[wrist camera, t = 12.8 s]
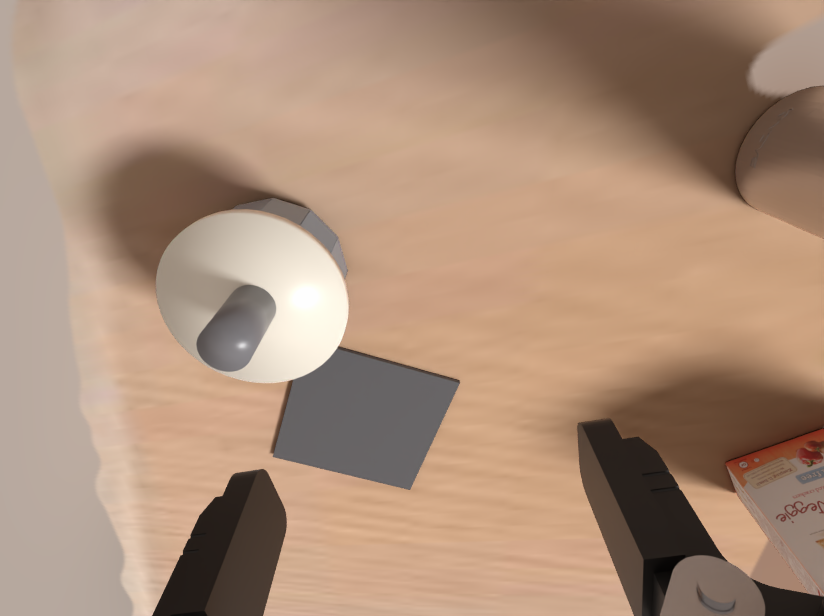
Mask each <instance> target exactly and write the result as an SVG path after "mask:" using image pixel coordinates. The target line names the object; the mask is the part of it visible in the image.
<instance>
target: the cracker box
mask: <svg viewBox="0 0 824 616" xmlns="http://www.w3.org/2000/svg"><path fill="white" fill-rule="evenodd" d="M726 466H727V469H728V472H729V474H730V477H731V480H732V482H733V485H734V488H735V490H736V493H737V496H738V497H739V499H740V500H741V501H742V503H743V504H744V506H745V507H746V508H747V510H748V511H749V513H750V514H751V515H752V517H753V518H754V519H755V521H756V522H757V524H758V525H759V526H760V528H761V529H762V531H763V532H764V533H765V535H766V536H767V537H768V539H769V540H770V542H771V543H772V544H773V546H774V547H775V548H776V550H777V551H778V552H779V554H780V555H781V556H782V558H783V559H784V561H785V562H786V563H787V565H788V566H789V567H790V569H791V570H792V572H793V573H794V574H795V575H796V577H797V578H798V580H799V581H800V582H801V584H802V585H803V586H804V588H805V589H806V591H807V592H808V593H809V594H812V595H818V596H823V597H824V428H823V429H820V430H817V431H815V432H812V433H809V434H806V435H803V436H800V437H797V438H795V439H792V440H789V441H786V442H783V443H780V444H777V445H774V446H772V447H769V448H766V449H763V450H760V451H757V452H754V453H751V454H749V455H746V456H743V457H740V458H737V459H734V460H731V461H728V462H726Z"/></svg>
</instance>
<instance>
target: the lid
mask: <svg viewBox="0 0 824 616" xmlns="http://www.w3.org/2000/svg"><path fill="white" fill-rule="evenodd" d="M156 295H157V302H158V305H159V309H160V312H161V314H162V317H163V319H164V321H165V323H166V325H167V327H168V328H169V330H170V332H171V333H172V335H173V336H174V337H175V339H176V340H177V341H178V342H179V344H180V345H181V346H182V347H183V348H184V349H185V350H186V351H187V352H188V353H190V354H191V355H192V356H193V357H194V358H196V359H197V360H198V361H200V362H201V363H203V364H204V365H206V366H207V367H209V368H211V369H213V370H215V371H217V372H219V373H221V374H224V375H226V376H229V377H232V378H235V379H239V380H243V381H248V382H257V383H277V382H285V381H289V380H293V379H296V378H299V377H302V376H304V375H306V374H308V373H310V372H312V371H314V370H315V369H317V368H318V367H320V366H321V365H323V364H324V363H325V362H326V361H327V360H328V359H329V358H330V357H331V355H332V354H333V353H334V352H335V350H336V349H337V347H338V345H339V344H340V342H341V340H342V337H343V334H344V332H345V328H346V324H347V320H348V315H349V295H348V289H347V285H346V281H345V279H344V276H343V273H342V271H341V269H340V267H339V265H338V264H337V262H336V260H335V259H334V257H333V256H332V255H331V253H330V252H329V250H328V249H327V248H326V247H325V246H324V245H323V244H322V243H321V242H320V241H319V240H318V239H317V238H316V237H315V236H313V235H312V234H311V233H310V232H308V231H307V230H305V229H304V228H302V227H301V226H299V225H298V224H296V223H294V222H292V221H290V220H288V219H286V218H283V217H281V216H278V215H275V214H272V213H268V212H264V211H258V210H250V209H233V210H226V211H220V212H217V213H213V214H210V215H208V216H205V217H203V218H201V219H199V220H197V221H196V222H194V223H193V224H191V225H190V226H188V227H187V228H185V229H184V230H183V231H181V232H180V233H179V234H178V235H177V236H176V237H175V238H174V239H173V240H172V241H171V243H170V244H169V245H168V247H167V248H166V250H165V251H164V253H163V255H162V257H161V260H160V263H159V266H158V269H157V275H156Z"/></svg>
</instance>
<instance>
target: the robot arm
mask: <svg viewBox="0 0 824 616" xmlns="http://www.w3.org/2000/svg"><path fill="white" fill-rule="evenodd" d="M735 175H736V183H737V187H738V189H739V192H740V194H741V196H742V197H743V198H744V200H745V201H746V202H747V203H748V204H749V205H751V206H752V207H753V208H755V209H756V210H759V211H761V212H763V213H766V214H768V215H770V216H773V217H775V218H777V219H780V220H782V221H784V222H786V223H789V224H791V225H793V226H795V227H797V228H800V229H802V230H804V231H807V232H809V233H811V234H813V235H816V236H818V237H820V238H823V239H824V86H816V87H810V88H806V89H803V90H800V91H797V92H795V93H793V94H791V95H789V96H787V97H785V98H783V99H781V100H780V101H779V102H777V103H776V104H775V105H773V106H772V107H770V108H769V109H768V110H767V111H766V112H765V113H764V114H763V115H762V116H761V117H760V118H759V119H758V120H757V121H756V123H755V124H754V125H753V127H752V128H751V129H750V131H749V132H748V133H747V135H746V137H745V139H744V141H743V143H742V145H741V147H740V151H739V154H738V157H737V160H736V170H735ZM577 430H578V447H579V465H580V473H581V478H582V482H583V486H584V489H585V492H586V495H587V498H588V500H589V503H590V505H591V508H592V510H593V513H594V515H595V518H596V520H597V523H598V525H599V528H600V530H601V533H602V536H603V538H604V541H605V543H606V546H607V548H608V551H609V553H610V556H611V558H612V561H613V563H614V566H615V568H616V571H617V573H618V576H619V578H620V581H621V584H622V586H623V589H624V591H625V594H626V596H627V599H628V601H629V604H630V606H631V609H632V611H633V614H634V616H824V597H823V596H818V595H812V594H807V593H801V592H796V591H791V590H785V589H780V588H775V587H772V586H768V585H765V584H762V583H760V582H758V581H756V580H753V579H751V578H750V577H749V576H748V575H747V574H745V573H744V572H743V571H742V570H740V569H739V568H738V567H736V566H734V565H733V564H731V563H729V562H728V561H727V560H726V559H725V558H724V557H723V556H722V554H721V553H720V552H719V550H718V549H717V547H716V545H715V544H714V542H713V541H712V539H711V537H710V536H709V534H708V533H707V531H706V529H705V528H704V526H703V525H702V523H701V521H700V520H699V518H698V516H697V515H696V513H695V512H694V510H693V508H692V507H691V505H690V504H689V502H688V500H687V499H686V497H685V496H684V494H683V492H682V491H681V490H680V489H679V486H678V484H677V483H676V481H675V479H674V478H673V476H672V475H671V474H670V473H669V470H668V468H667V467H666V465H665V463H664V462H663V460H662V458H661V457H660V455H659V454H658V452H657V451H656V450H654V449H653V448H652V447H651V446H649V445H648V444H647V443H645V442H644V441H643V440H642V439H640V438H639V437H634V438H627V439H622V438H621V436H620V434H619V432H618V430H617V429H616V427H615V425H614V423H613V422H612V420H611V419H609V418H607V419H600V420H594V421H587V422H580V423H578V426H577ZM286 526H287V520H286V512H285V509H284V506H283V504H282V502H281V500H280V498H279V496H278V493H277V491H276V489H275V487H274V485H273V483H272V481H271V479H270V477H269V474H268V473H267V471H266V470H264V469H260V470H253V471H247V472H240V473H235V474H234V475H232V477H231V478H230V480H229V483H228V485H227V487H226V490H225V492H224V494H223V496H220V497H215V498H214V499H213V501H212V502H211V503H210V504H209V505H208V506H207V508H206V509H205V510H204V511H203V512H202V513H201V515H200V516H199V518H198V520H197V522H196V524H195V527H194V529H193V531H192V533H191V538H190V539H188V541H187V543H186V546H185V548H184V550H183V555H181V556H180V558H179V560H178V562H177V564H176V567H175V569H174V571H173V573H172V575H171V577H170V579H169V581H168V583H167V586H166V588H165V590H164V592H163V594H162V596H161V598H160V600H159V602H158V605H157V607H156V609H155V611H154V613H153V615H152V616H263V614H264V610H265V606H266V603H267V599H268V595H269V592H270V588H271V584H272V581H273V577H274V573H275V570H276V566H277V563H278V559H279V555H280V552H281V548H282V544H283V541H284V537H285V533H286Z"/></svg>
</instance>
